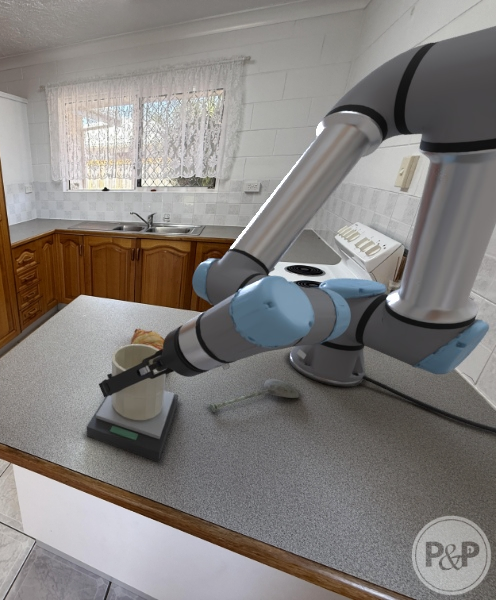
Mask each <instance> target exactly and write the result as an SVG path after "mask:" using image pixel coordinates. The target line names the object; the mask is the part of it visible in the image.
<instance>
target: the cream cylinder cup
mask: <svg viewBox="0 0 496 600" xmlns="http://www.w3.org/2000/svg"><path fill="white" fill-rule="evenodd" d="M157 351H159V349H157V348H155V347H152V346H149V345H144V344H131V343H130V344H126V345H121V346H120V347H118V348H116V349H115V350H114V351H113V353H112V354H111V373H112V376H115V375H117V374H120V373H122V372H124V371H126V370H128V369H130V368H132V367H134V366H136V365H138V364H140V363H141V362H142V361H143V360H144V359H145V358H148V357H150V356H152V355H154V354H155V353H156V352H157ZM155 358H156V357H155ZM153 359H154V358H153ZM153 359H151V360H150V361H149V363H150V364H153V362H152V361H153ZM165 370H166V369H165ZM153 371H154V373H155V374H157V373H159V372H161V371H157V370H156V369H154V370H153ZM162 371H164V370H162ZM166 377H167V374H163V375H161V376H158V377H156V378H154V379H150V378H147V379H145V380H142V381H140V382H138V383H136V384H133V385H131V386H129V387H127V388H124V389H122V390H121V391H119V392H116V393H114V394H112V405H113V407H114V409H115V410H116V411H117V412H118V413H119V414H121V415H122V416H124V417H126V418H129V419H132V420H147V419H150V418H153V417H155V416H156V415H157V414H159V413H160V412H161V410H162V407H163V401H164V390H165V391H166V389H165V388H166Z"/></svg>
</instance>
